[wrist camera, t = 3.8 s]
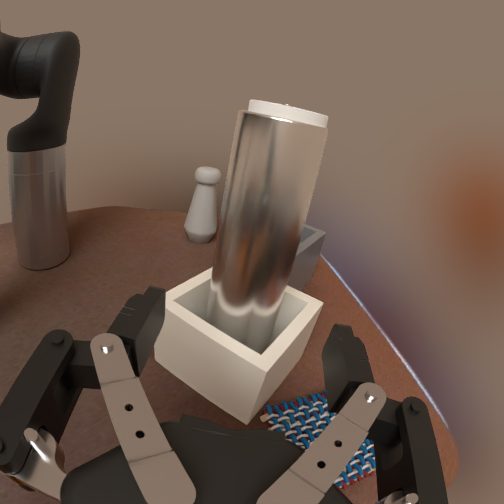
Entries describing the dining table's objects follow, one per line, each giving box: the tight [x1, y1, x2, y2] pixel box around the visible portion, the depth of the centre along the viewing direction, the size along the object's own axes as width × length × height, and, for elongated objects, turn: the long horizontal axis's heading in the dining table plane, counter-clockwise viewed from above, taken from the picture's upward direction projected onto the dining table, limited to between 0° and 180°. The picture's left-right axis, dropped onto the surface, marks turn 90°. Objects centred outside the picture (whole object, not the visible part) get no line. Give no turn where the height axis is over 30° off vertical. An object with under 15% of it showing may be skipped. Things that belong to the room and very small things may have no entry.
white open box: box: [154, 267, 323, 425], centre depth 29 cm, size 11×11×8 cm
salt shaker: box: [184, 167, 221, 244], centre depth 51 cm, size 6×6×13 cm
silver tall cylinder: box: [205, 100, 328, 355], centre depth 25 cm, size 6×6×25 cm
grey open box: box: [287, 224, 326, 291], centre depth 45 cm, size 11×11×8 cm
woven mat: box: [260, 390, 376, 491], centre depth 23 cm, size 10×11×2 cm
